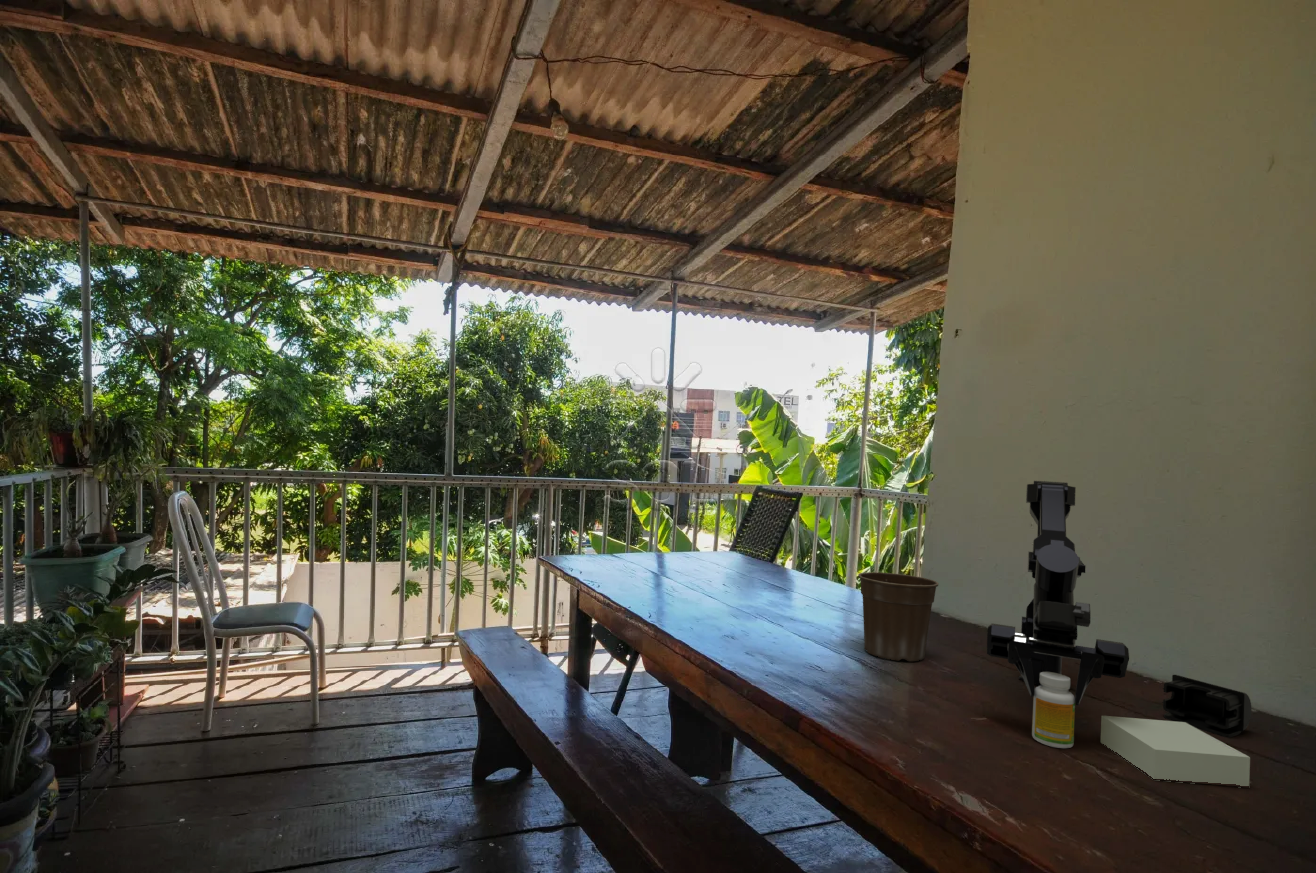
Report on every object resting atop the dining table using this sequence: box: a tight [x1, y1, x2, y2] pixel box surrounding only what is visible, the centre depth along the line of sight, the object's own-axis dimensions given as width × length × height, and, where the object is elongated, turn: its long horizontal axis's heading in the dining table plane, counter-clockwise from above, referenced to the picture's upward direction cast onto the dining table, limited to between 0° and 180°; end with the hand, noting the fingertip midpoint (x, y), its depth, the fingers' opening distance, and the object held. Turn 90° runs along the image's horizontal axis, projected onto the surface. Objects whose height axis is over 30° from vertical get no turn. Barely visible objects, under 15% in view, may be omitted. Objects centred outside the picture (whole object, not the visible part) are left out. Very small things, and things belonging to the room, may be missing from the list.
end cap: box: [1162, 674, 1252, 739], centre depth 113 cm, size 10×7×7 cm
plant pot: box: [857, 571, 939, 662], centre depth 145 cm, size 16×16×16 cm
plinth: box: [1100, 715, 1251, 787], centre depth 96 cm, size 12×12×4 cm
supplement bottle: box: [1031, 672, 1076, 749], centre depth 101 cm, size 5×5×10 cm
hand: (1054, 699), depth 100 cm, fingers closed on supplement bottle, 5 cm apart
